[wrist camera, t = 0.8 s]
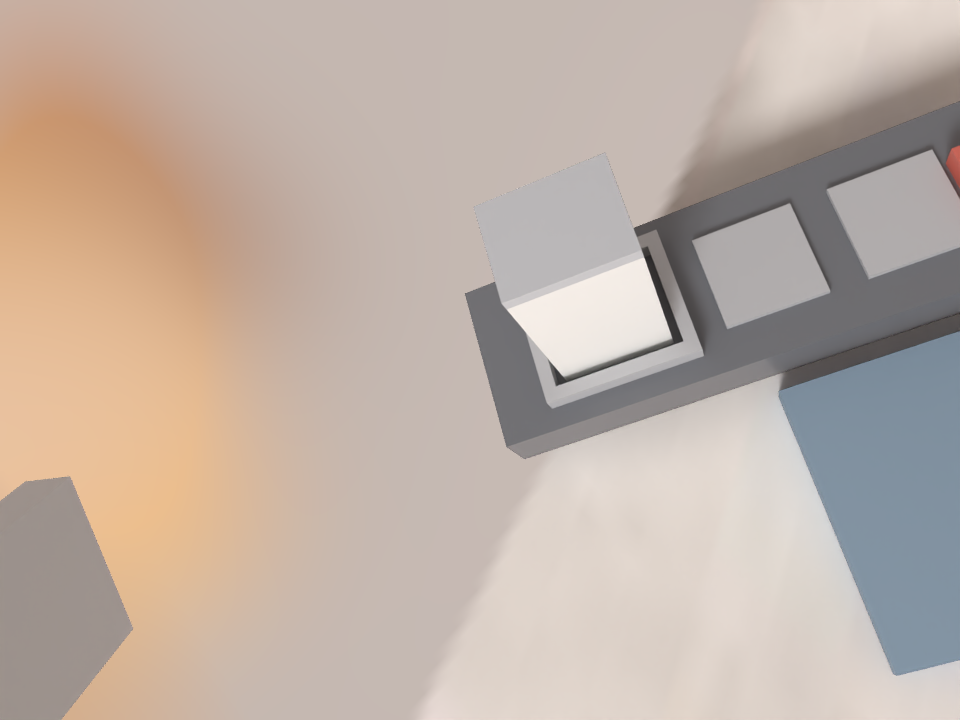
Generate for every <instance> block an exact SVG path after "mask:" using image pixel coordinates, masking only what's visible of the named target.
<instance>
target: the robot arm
mask: <svg viewBox="0 0 960 720" xmlns="http://www.w3.org/2000/svg"><path fill="white" fill-rule="evenodd" d="M132 630H133V627H132V625H131V622H130V620H129V617H128V615H127V613H126V610H125V608H124V605H123V603H122V600H121V598H120V596H119V593H118V591H117V588H116V586H115V584H114V581H113V579H112V576H111V574H110V572H109V569H108V567H107V564H106V562H105V560H104V557H103V555H102V552H101V550H100V547H99V545H98V543H97V540H96V538H95V535H94V533H93V531H92V528H91V526H90V524H89V521H88V519H87V516H86V514H85V511H84V509H83V506H82V504H81V502H80V499H79V497H78V495H77V492H76V490H75V487H74V485H73V482H72V480H71V478H70V477H61V478H53V479H44V480H35V481H28V482H24V483H23V484H22V485H20V486H19V487H18V488H16V489H15V490H14V491H13V492H11V493H10V494H9V495H7V496H6V497H5V498H4V499H2V500H1V501H0V720H61V719H62V718H63V717H64V716H65V714H66V713H67V712H68V710H69V709H70V708H71V707H72V705H73V704H74V703H75V702H76V700H77V699H78V698H79V697H80V695H81V694H82V693H83V692H84V690H85V689H86V688H87V686H88V685H89V684H90V683H91V681H92V680H93V679H94V677H95V676H96V675H97V674H98V673H99V671H100V670H101V669H102V667H103V666H104V665H105V664H106V662H107V661H108V660H109V658H110V657H111V656H112V655H113V654H114V652H115V651H116V650H117V648H118V647H119V646H120V645H121V643H122V642H123V641H124V639H125V638H126V637H127V636H128V635H129V633H130V632H131V631H132Z"/></svg>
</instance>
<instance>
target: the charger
mask: <svg viewBox="0 0 960 720" xmlns="http://www.w3.org/2000/svg"><path fill="white" fill-rule="evenodd" d="M474 210H475V214H476V217H477V221H478V224H479V228H480V231H481V234H482V238H483V241H484V245H485V248H486V252H487V255H488V259H489V262H490V266H491V269H492V272H493V276H494V279H495V283H496V286H497V290H498V293H499V297H500V300H501V304H502V305H503V306H504V307H505V308H506V309H507V311H508V312H509V313H510V314H511V315H512V317H513V318H514V319H515V320H516V321H517V323H518V324H519V325H520V326H521V327H522V328H523V330H524V331H525V332H526V333H527V334H528V336H529V337H530V338H531V339H532V340H533V342H534V343H535V344H536V345H537V346H538V347H539V349H540V350H541V351H542V352H543V353H544V355H545V356H546V357H547V358H548V359H549V361H550V362H551V363H552V364H553V365H554V366H555V368H556V369H557V370H558V371H559V372H560V374H561V375H562V376H563V377H564V378H565V380H566V381H569V380H572V379H575V378H577V377H580V376H583V375H586V374H589V373H592V372H594V371H597V370H600V369H603V368H606V367H609V366H611V365H614V364H617V363H620V362H623V361H626V360H628V359H631V358H634V357H637V356H640V355H643V354H645V353H648V352H651V351H654V350H657V349H659V348H662V347H665V346H668V345H671V344H674V342H673V339H672V336H671V333H670V330H669V327H668V325H667V322H666V319H665V316H664V313H663V310H662V307H661V304H660V302H659V299H658V296H657V293H656V290H655V287H654V284H653V281H652V279H651V276H650V273H649V270H648V267H647V264H646V261H645V258H644V255H643V253H642V250H641V247H640V244H639V242H638V239H637V236H636V234H635V231H634V228H633V226H632V223H631V220H630V218H629V215H628V212H627V210H626V207H625V204H624V202H623V199H622V196H621V193H620V191H619V188H618V185H617V183H616V180H615V177H614V175H613V172H612V170H611V167H610V164H609V161H608V158H607V156H606V153H603V154H600V155H598V156H596V157H593V158H591V159H588V160H586V161H583V162H581V163H579V164H576V165H574V166H571V167H569V168H567V169H564V170H561V171H559V172H557V173H554V174H552V175H550V176H547V177H545V178H542V179H540V180H538V181H535V182H533V183H530V184H528V185H525V186H523V187H520V188H518V189H516V190H513V191H511V192H508V193H506V194H504V195H501V196H499V197H496V198H494V199H491V200H489V201H487V202H484V203H482V204H479V205H477V206H474Z"/></svg>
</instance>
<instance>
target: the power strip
mask: <svg viewBox="0 0 960 720" xmlns="http://www.w3.org/2000/svg"><path fill="white" fill-rule="evenodd" d="M634 231H635V234H636V236H637V239H638V242H639V244H640V247H641V250H642V253H643V255H644V258H645V261H646V264H647V267H648V270H649V273H650V276H651V279H652V281H653V284H654V287H655V290H656V293H657V296H658V299H659V302H660V304H661V307H662V310H663V313H664V316H665V319H666V322H667V325H668V327H669V330H670V333H671V336H672V339H673V342H674V344H671V345H668V346H665V347H662V348H659V349H657V350H654V351H651V352H648V353H645V354H643V355H640V356H637V357H634V358H631V359H628V360H626V361H623V362H620V363H617V364H614V365H611V366H609V367H606V368H603V369H600V370H597V371H594V372H592V373H589V374H586V375H583V376H580V377H577V378H575V379H572V380H569V381H566V380H565V378H564V377H563V376H562V375H561V374H560V372H559V371H558V370H557V369H556V368H555V366H554V365H553V364H552V363H551V362H550V361H549V359H548V358H547V357H546V356H545V355H544V353H543V352H542V351H541V350H540V349H539V347H538V346H537V345H536V344H535V343H534V342H533V340H532V339H531V338H530V337H529V336H528V334H527V333H526V332H525V331H524V330H523V328H522V327H521V326H520V325H519V324H518V323H517V321H516V320H515V319H514V318H513V317H512V315H511V314H510V313H509V312H508V311H507V309H506V308H505V307H504V306H503V305H502V304H501V300H500V297H499V293H498V290H497V286H496V283H495V282H494V283H491V284H489V285H486V286H483V287H481V288H478V289H476V290H473V291H471V292H468V293H465V296H466V299H467V303H468V307H469V310H470V314H471V318H472V322H473V325H474V329H475V333H476V336H477V340H478V344H479V347H480V351H481V355H482V358H483V362H484V366H485V369H486V373H487V376H488V380H489V384H490V388H491V391H492V395H493V399H494V402H495V406H496V410H497V413H498V417H499V421H500V424H501V428H502V432H503V435H504V439H505V443H506V446H507V448H509V449H510V450H512V451H513V452H515V453H516V454H518V455H519V456H521V457H522V458H524V459H526V458H529V457H532V456H535V455H538V454H541V453H544V452H547V451H550V450H553V449H556V448H559V447H562V446H565V445H568V444H571V443H574V442H577V441H580V440H583V439H586V438H589V437H592V436H595V435H598V434H601V433H604V432H607V431H610V430H613V429H616V428H619V427H622V426H624V425H627V424H630V423H633V422H636V421H639V420H642V419H645V418H648V417H651V416H654V415H657V414H660V413H663V412H666V411H669V410H672V409H675V408H678V407H681V406H684V405H687V404H690V403H693V402H696V401H699V400H702V399H705V398H708V397H711V396H714V395H717V394H720V393H723V392H726V391H729V390H732V389H735V388H738V387H741V386H744V385H747V384H750V383H753V382H755V381H758V380H761V379H764V378H767V377H770V376H773V375H776V374H779V373H782V372H785V371H788V370H791V369H794V368H797V367H800V366H803V365H806V364H809V363H812V362H815V361H818V360H821V359H824V358H827V357H830V356H833V355H836V354H839V353H842V352H845V351H848V350H851V349H854V348H857V347H860V346H863V345H866V344H869V343H872V342H875V341H878V340H881V339H884V338H887V337H889V336H892V335H895V334H898V333H901V332H904V331H907V330H910V329H913V328H916V327H919V326H922V325H925V324H928V323H931V322H934V321H937V320H940V319H943V318H946V317H949V316H952V315H955V314H958V313H960V101H959V102H956V103H954V104H951V105H949V106H946V107H943V108H941V109H938V110H936V111H933V112H931V113H928V114H925V115H923V116H920V117H918V118H915V119H913V120H910V121H908V122H905V123H902V124H900V125H897V126H895V127H892V128H890V129H887V130H884V131H882V132H879V133H877V134H874V135H872V136H869V137H866V138H864V139H861V140H859V141H856V142H854V143H851V144H848V145H846V146H843V147H841V148H838V149H836V150H833V151H830V152H828V153H825V154H823V155H820V156H818V157H815V158H812V159H810V160H807V161H805V162H802V163H800V164H797V165H794V166H792V167H789V168H787V169H784V170H782V171H779V172H776V173H774V174H771V175H769V176H766V177H764V178H761V179H758V180H756V181H753V182H751V183H748V184H746V185H743V186H740V187H738V188H735V189H733V190H730V191H728V192H725V193H722V194H720V195H717V196H715V197H712V198H710V199H707V200H704V201H702V202H699V203H697V204H694V205H692V206H689V207H686V208H684V209H681V210H679V211H676V212H674V213H671V214H668V215H666V216H663V217H661V218H658V219H656V220H653V221H650V222H648V223H645V224H643V225H640V226H638V227H635V228H634Z"/></svg>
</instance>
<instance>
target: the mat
mask: <svg viewBox="0 0 960 720" xmlns="http://www.w3.org/2000/svg"><path fill="white" fill-rule="evenodd" d="M779 399H780V401H781V403H782V406H783V408H784V411H785V413H786V416H787V418H788V420H789V423H790V425H791V428H792V430H793V432H794V435H795V437H796V440H797V442H798V445H799V447H800V449H801V452H802V454H803V457H804V459H805V461H806V464H807V466H808V469H809V471H810V474H811V476H812V478H813V481H814V483H815V486H816V488H817V491H818V493H819V495H820V498H821V500H822V503H823V505H824V507H825V510H826V512H827V515H828V517H829V520H830V522H831V524H832V527H833V529H834V532H835V534H836V536H837V539H838V541H839V544H840V546H841V549H842V551H843V553H844V556H845V558H846V561H847V563H848V566H849V568H850V570H851V573H852V575H853V578H854V580H855V582H856V585H857V587H858V590H859V592H860V595H861V597H862V599H863V602H864V604H865V607H866V609H867V611H868V614H869V616H870V619H871V621H872V624H873V626H874V628H875V631H876V633H877V636H878V638H879V640H880V643H881V645H882V648H883V650H884V653H885V655H886V657H887V660H888V662H889V665H890V667H891V670H892V672H893V674H894V675H896V676H898V675H902V674H906V673H910V672H914V671H918V670H922V669H926V668H930V667H934V666H938V665H942V664H946V663H950V662H954V661H958V660H960V331H958V332H955V333H952V334H949V335H946V336H943V337H940V338H937V339H934V340H931V341H928V342H925V343H922V344H919V345H916V346H913V347H910V348H907V349H904V350H901V351H898V352H895V353H892V354H889V355H886V356H883V357H880V358H877V359H874V360H871V361H868V362H865V363H862V364H859V365H856V366H853V367H850V368H847V369H844V370H841V371H838V372H835V373H832V374H829V375H826V376H822V377H819V378H816V379H813V380H810V381H807V382H804V383H801V384H798V385H795V386H792V387H789V388H786V389H783V390H780V391H779Z"/></svg>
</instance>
